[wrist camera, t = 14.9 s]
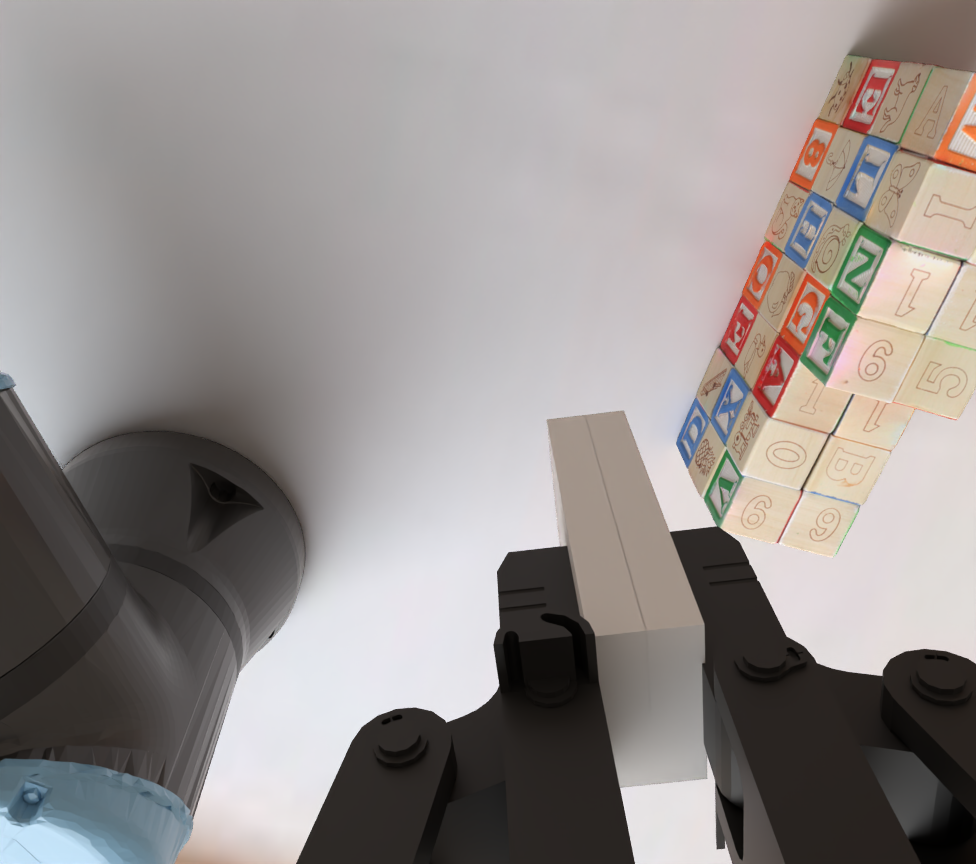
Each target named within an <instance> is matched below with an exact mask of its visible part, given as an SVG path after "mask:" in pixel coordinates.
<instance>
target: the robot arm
mask: <svg viewBox="0 0 976 864" xmlns="http://www.w3.org/2000/svg"><path fill="white" fill-rule="evenodd" d="M14 386H16V384H15V382H14V381H13V379H12V378H11V377H10V376H9V375H8V374H5V373H2V372H1V371H0V864H175V861H176V859H177V856H178V854H179V852H180V851H181V850H182V848H183V846H184V845H185V844H186V842H187V841H188V840H189V838H190V836H191V832H192V829H193V818H194V814H195V811H196V808H197V805H198V802H199V798H200V795H201V792H202V789H203V786H204V782H205V779H206V776H207V773H208V770H209V766H210V763H211V760H212V757H213V754H214V751H215V747H216V744H217V741H218V738H219V735H220V731H221V728H222V725H223V722H224V719H225V715H226V712H227V709H228V706H229V703H230V699H231V696H232V693H233V690H234V687H235V684H236V681H237V678H238V675H239V672H240V671H241V670H242V669H243V667H244V666H245V665H246V664H247V663H248V662H249V660H250V659H251V658H252V657H253V656H254V655H255V653H256V652H258V651H259V650H260V649H262V648H263V647H264V646H265V645H266V644H267V643H268V642H269V641H270V640H271V639H272V638H273V637H274V636H275V635H276V634H277V633H278V631H279V630H280V629H281V627H282V626H283V625H284V623H285V621H286V620H287V618H288V616H289V614H290V613H291V610H292V608H293V606H294V603H295V601H296V598H297V594H298V591H299V587H300V584H301V580H302V576H303V572H304V565H305V546H304V539H303V534H302V530H301V527H300V524H299V521H298V518H297V516H296V514H295V512H294V510H293V508H292V506H291V504H290V503H289V501H288V499H287V498H286V497H285V495H284V494H283V492H282V491H281V490H280V489H279V487H278V486H277V485H276V484H275V483H274V482H273V481H272V479H271V478H270V477H269V476H267V475H266V474H265V473H264V472H263V471H262V470H261V469H260V468H258V467H257V466H256V465H255V464H253V463H252V462H250V461H249V460H248V459H246V458H244V457H243V456H241V455H240V454H238V453H236V452H234V451H232V450H231V449H229V448H226V447H224V446H222V445H220V444H217V443H215V442H212V441H209V440H206V439H203V438H200V437H196V436H192V435H187V434H182V433H175V432H162V431H147V432H136V433H130V434H125V435H120V436H117V437H113V438H110V439H107V440H105V441H102V442H100V443H98V444H96V445H94V446H92V447H90V448H88V449H86V450H85V451H83V452H82V453H80V454H79V455H78V456H76V457H75V458H74V459H73V460H72V461H70V462H69V463H68V464H67V465H66V466H65V467H64V468H63V470H62V469H61V468H60V466H59V464H58V463H57V461H56V459H55V458H54V456H53V454H52V453H51V451H50V449H49V448H48V446H47V444H46V443H45V441H44V439H43V438H42V436H41V434H40V433H39V431H38V429H37V428H36V426H35V424H34V423H33V421H32V419H31V418H30V416H29V414H28V413H27V411H26V409H25V408H24V406H23V404H22V403H21V401H20V399H19V398H18V396H17V394H16V393H15V391H14V389H13V388H12V387H14ZM547 429H548V439H549V448H550V458H551V468H552V478H553V488H554V497H555V507H556V517H557V527H558V537H559V543H560V547H552V548H543V549H534V550H525V551H517V552H508V554H507V556H506V557H505V559H504V561H503V562H502V564H501V566H500V568H499V569H498V571H497V579H498V594H499V596H498V598H499V616H500V629H499V630H498V631H497V633H496V637H495V641H494V652H495V658H496V665H497V672H498V679H499V685H500V686H499V688H498V690H497V692H496V693H495V694H494V695H493V697H492V698H491V699H490V700H489V701H488V702H487V703H486V704H484V705H483V706H482V707H480V708H479V709H477V710H476V711H474V712H471V713H469V714H467V715H465V716H463V717H460V718H458V719H455V720H452V721H450V722H447V723H446V721H445V720H444V719H442V718H441V717H439V716H438V715H437V714H435V713H434V712H432V711H428V710H424V709H419V708H404V709H395V710H392V711H390V712H387V713H384V714H381V715H379V716H377V717H375V718H374V719H373V720H371V721H370V722H368V723H367V724H366V725H364V726H363V727H362V728H361V729H360V731H359V732H358V734H357V735H356V736H355V738H354V739H353V741H352V742H351V745H350V747H349V749H348V751H347V753H346V756H345V758H344V760H343V762H342V764H341V767H340V769H339V771H338V773H337V775H336V778H335V780H334V782H333V784H332V786H331V788H330V791H329V793H328V795H327V797H326V799H325V802H324V804H323V806H322V808H321V810H320V813H319V815H318V817H317V819H316V821H315V824H314V826H313V828H312V830H311V832H310V835H309V837H308V839H307V841H306V843H305V845H304V848H303V850H302V852H301V854H300V856H299V859H298V861H297V863H296V864H635V862H634V857H633V852H632V847H631V841H630V836H629V831H628V826H627V821H626V816H625V811H624V806H623V801H622V796H621V791H620V788H622V787H632V786H641V785H651V784H661V783H670V782H680V781H689V780H699V779H707V756H708V759H709V762H710V765H711V768H712V771H713V775H714V778H715V799H716V844H717V849H725V841H726V844H727V847H728V851H729V854H730V857H731V860H732V864H976V664H975V663H974V662H972V661H971V660H969V659H967V658H964V657H961V656H958V655H955V654H952V653H949V652H947V651H938V650H929V649H921V650H914V651H906V652H903V653H902V654H900V655H898V656H896V657H894V658H892V659H890V661H889V662H888V664H887V665H886V667H885V668H884V670H883V676H877V675H868V674H860V673H852V672H846V671H841V670H835V669H831V668H829V667H826V666H823V665H820V664H817V663H816V661H815V659H814V657H813V656H812V655H811V654H810V653H809V652H808V650H807V649H806V648H805V647H804V646H802V645H801V644H799V643H797V642H795V641H794V640H792V639H790V638H788V637H786V635H785V633H784V631H783V629H782V627H781V625H780V623H779V621H778V619H777V617H776V615H775V613H774V611H773V609H772V606H771V604H770V602H769V600H768V598H767V596H766V594H765V592H764V590H763V588H762V586H761V584H760V582H759V581H757V576H756V574H755V572H754V570H753V568H752V566H751V565H749V560H748V558H747V556H746V554H745V552H744V550H743V548H742V546H741V544H740V542H739V541H737V540H736V539H735V538H733V537H732V536H731V535H729V534H728V533H727V532H725V531H724V530H723V529H721V528H720V527H718V526H717V527H709V528H700V529H691V530H682V531H674V532H669V529H668V526H667V524H666V521H665V519H664V516H663V513H662V511H661V508H660V505H659V503H658V500H657V497H656V495H655V492H654V490H653V487H652V484H651V482H650V479H649V476H648V474H647V471H646V468H645V466H644V463H643V460H642V458H641V455H640V453H639V450H638V447H637V445H636V442H635V439H634V437H633V434H632V431H631V429H630V426H629V424H628V421H627V418H626V416H625V413H624V411H616V412H607V413H599V414H590V415H582V416H573V417H565V418H557V419H548V420H547Z"/></svg>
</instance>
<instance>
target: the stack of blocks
mask: <svg viewBox="0 0 976 864" xmlns="http://www.w3.org/2000/svg"><path fill="white" fill-rule="evenodd" d="M975 388H976V72H972V71H964V70H956V69H949V68H944V67H941V66H938V65H933V64H924V63H915V62H900V61H891V60H880V59H871V58H868V57H861V56H855V55H847V56H846V57H845V59H844V61H843V63H842V65H841V68H840V70H839V72H838V74H837V77H836V79H835V81H834V84H833V86H832V88H831V90H830V92H829V95H828V97H827V99H826V101H825V104H824V106H823V108H822V110H821V113H820V115H819V117H818V119H817V120H816V121H815V122H814V124H813V127H812V129H811V131H810V133H809V136H808V138H807V140H806V142H805V145H804V147H803V149H802V152H801V154H800V156H799V158H798V161H797V163H796V165H795V167H794V170H793V172H792V174H791V176H790V180H789V182H788V184H787V186H786V188H785V190H784V192H783V194H782V196H781V198H780V201H779V203H778V205H777V208H776V210H775V212H774V214H773V217H772V219H771V222H770V224H769V226H768V228H767V231H766V233H765V241H764V244H763V246H762V247H761V249H760V252H759V255H758V257H757V260H756V262H755V264H754V266H753V268H752V271H751V273H750V275H749V278H748V280H747V282H746V284H745V287H744V289H743V291H742V297H741V299H740V301H739V303H738V305H737V307H736V310H735V312H734V314H733V316H732V319H731V321H730V323H729V326H728V328H727V330H726V332H725V335H724V337H723V339H722V342H721V346H720V347H718V348H717V349H716V351H715V353H714V355H713V358H712V360H711V362H710V365H709V367H708V369H707V372H706V374H705V376H704V378H703V380H702V383H701V385H700V387H699V389H698V392H697V396H696V399H695V400H694V402H693V404H692V407H691V409H690V411H689V413H688V416H687V418H686V421H685V423H684V425H683V427H682V430H681V432H680V435H679V437H678V439H677V442H676V445H677V447H678V449H679V451H680V453H681V456H682V458H683V460H684V462H685V465H686V467H687V468H688V471H689V474H690V476H691V478H692V481H693V483H694V485H695V487H696V489H697V491H698V493H699V495H700V497H701V498H703V499H704V501H705V503H706V505H707V508H708V509H709V511H710V513H711V515H712V517H713V520H714V521H715V523H716V525H717V526H718V527H720V528H721V529H723V530H724V531H725V532H729V533H733V534H737V535H741V536H745V537H749V538H753V539H756V540H760V541H764V542H768V543H772V544H775V543H778V544H781V545H784V546H788V547H791V548H795V549H799V550H803V551H808V552H812V553H815V554H820V555H823V556H827V557H832V558H833V557H834V556H835V555H836V554H837V552H838V550H839V548H840V546H841V544H842V542H843V540H844V538H845V536H846V534H847V533H848V531H849V529H850V527H851V525H852V523H853V522H854V520H855V517H856V515H857V514H858V512H859V508H860V505H863V504H864V503H865V501H866V500H867V498H868V496H869V494H870V492H871V490H872V488H873V487H874V485H875V483H876V481H877V479H878V477H879V475H880V474H881V472H882V470H883V468H884V466H885V464H886V462H887V461H888V459H889V457H890V455H891V451H892V450H893V449H894V448H895V446H896V445H897V443H898V441H899V439H900V437H901V436H902V434H903V432H904V430H905V428H906V426H907V424H908V422H909V420H910V418H911V416H912V414H913V412H914V410H915V409H919V410H922V411H926V412H929V413H933V414H936V415H939V416H943V417H946V418H949V419H953V420H957V419H958V418H959V417H960V415H961V414H962V412H963V410H964V408H965V407H966V405H967V403H968V401H969V399H970V398H971V396H972V394H973V392H974V390H975Z"/></svg>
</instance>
